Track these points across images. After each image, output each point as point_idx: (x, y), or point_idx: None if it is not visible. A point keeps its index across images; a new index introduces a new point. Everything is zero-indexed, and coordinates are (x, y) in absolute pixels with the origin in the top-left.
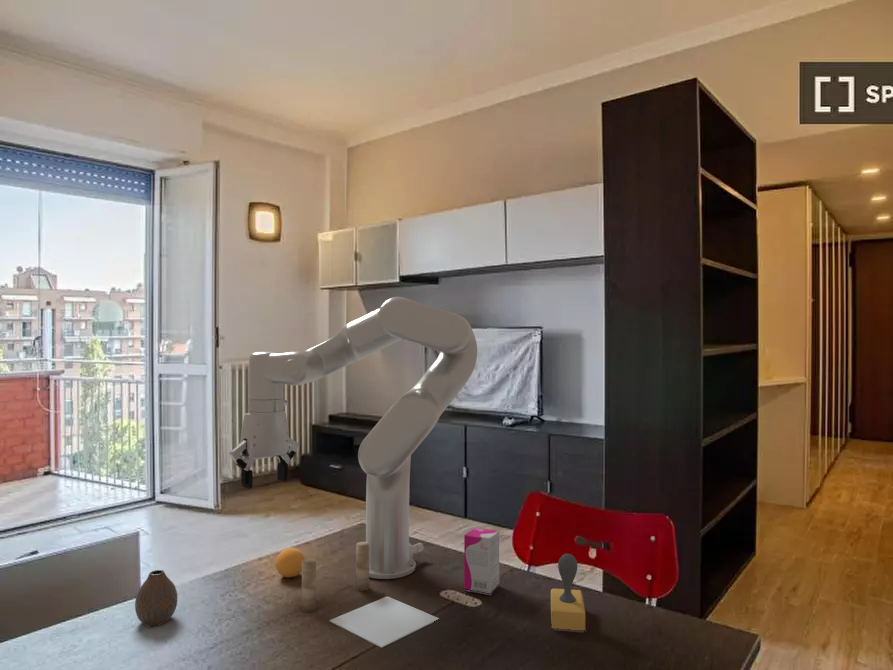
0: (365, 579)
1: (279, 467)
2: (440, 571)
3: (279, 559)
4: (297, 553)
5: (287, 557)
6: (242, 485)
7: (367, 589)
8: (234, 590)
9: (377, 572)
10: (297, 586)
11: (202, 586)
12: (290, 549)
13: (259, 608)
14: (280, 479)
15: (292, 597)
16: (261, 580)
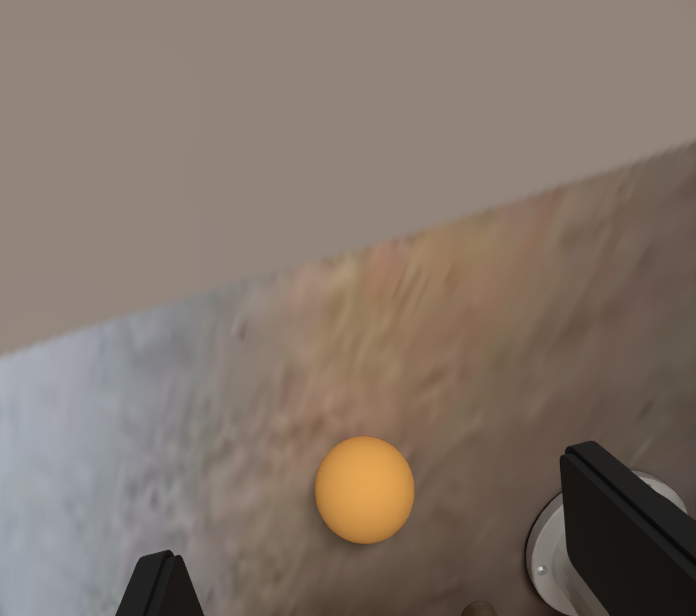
0: None
1: (671, 598)
2: None
3: (322, 515)
4: (384, 538)
5: (344, 538)
6: (141, 562)
7: None
8: (173, 474)
9: (552, 593)
10: None
11: (82, 394)
12: (369, 530)
13: (206, 610)
14: (568, 509)
15: (304, 588)
16: (270, 443)
